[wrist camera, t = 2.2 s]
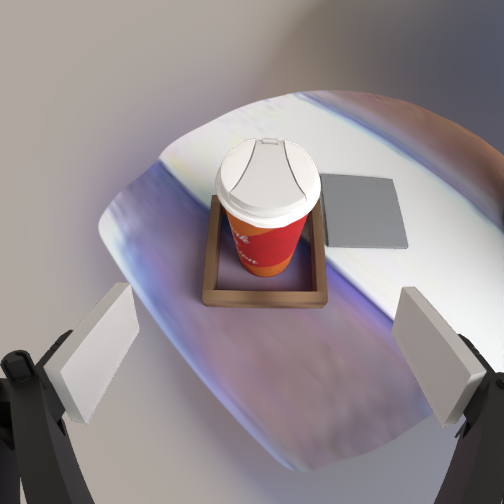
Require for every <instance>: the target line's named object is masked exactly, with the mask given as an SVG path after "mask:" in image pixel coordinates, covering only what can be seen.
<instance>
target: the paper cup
mask: <svg viewBox="0 0 504 504" xmlns="http://www.w3.org/2000/svg"><path fill="white" fill-rule="evenodd" d="M215 186H216V193H217V195H218V198H219V200H220V202H221V204H222V205H223V206H224V207H225V209H226V213H227V216H228V220H229V223H230V227H231V230H232V234H233V237H234V241H235V244H236V248H237V251H238V254H239V257H240V260H241V262H242V264H243V266H244V267H245V268H246V270H247V271H249V272H250V273H252V274H253V275H256V276H259V277H272V276H275V275H278V274H279V273H281V272H282V271H283V270H284V269H285V268H286V267H287V265H288V264H289V262H290V260H291V258H292V255H293V253H294V250H295V248H296V245H297V243H298V240H299V237H300V235H301V232H302V229H303V227H304V224H305V221H306V219H307V216H308V213H309V212H310V211H311V210H312V208H313V207H314V206H315V204H316V203H317V200H318V198H319V195H320V191H321V182H320V177H319V174H318V172H317V170H316V166H315V164H314V162H313V160H312V158H311V157H310V155H309V154H308V153H307V152H306V151H305V150H304V149H303V148H301V147H300V146H298V145H297V144H295V143H293V142H291V141H288V140H285V139H284V143H283V141H277V139H268V138H263V140H257V141H256V138H253V139H250V140H247V141H244V142H242V143H240V144H238V145H237V146H235V147H234V148H233V149H232V150H231V151H230V152H229V153H228V154H227V155H226V157H225V158H224V160H223V162H222V164H221V166H220V168H219V170H218V172H217V176H216V183H215Z"/></svg>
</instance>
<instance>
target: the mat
mask: <svg viewBox="0 0 504 504" xmlns="http://www.w3.org/2000/svg"><path fill="white" fill-rule="evenodd" d="M320 178H321V186H322V194H323V203H324V212H325V222H326V232H327V242H328V247H350V248H394V249H407V248H408V242H407V237H406V233H405V228H404V223H403V219H402V215H401V211H400V207H399V203H398V199H397V195H396V191H395V187H394V184H393V180H392V179H384V178H373V177H361V176H348V175H332V174H321V176H320Z"/></svg>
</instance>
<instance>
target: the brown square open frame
mask: <svg viewBox="0 0 504 504" xmlns="http://www.w3.org/2000/svg"><path fill="white" fill-rule="evenodd" d="M223 214H227V213H226V209H225V207H224V206H223V205H222V204H221V202H220V200H219V198H218V195H212V201H211V210H210V219H209V228H208V237H207V247H206V257H205V267H204V278H203V290H202V301H203V303H204V304H205V306H210V307H239V308H323V307H324V306H325V305H326V303H327V302H328V295H327V278H326V263H325V250H324V238H323V227H322V216H321V206H320V197H319V198H318V200H317V203H316V204H315V206H314V207H313V208H312V210H311V211H310V212H309V213H308V218H309V232H310V248H311V266H312V288H313V292H280V291H229V290H217V278H218V264H219V251H220V239H221V227H222V216H223Z"/></svg>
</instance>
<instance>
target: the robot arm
mask: <svg viewBox="0 0 504 504" xmlns="http://www.w3.org/2000/svg"><path fill="white" fill-rule="evenodd" d="M139 331H140V330H139V325H138V320H137V315H136V310H135V305H134V300H133V294H132V288H131V283H120V282H117V283H116V284H115V285H114V286H113V287H112V288H111V289H110V290H109V291H108V293H107V294H106V295H105V296H104V297H103V298H102V299H101V300H100V301H99V302H98V303H97V305H96V306H95V307H94V308H93V309H92V310H91V311H90V312H89V314H88V315H87V316H86V317H85V318H84V319H83V320H82V322H81V323H80V324H79V325H78V326H77V327H76V328H75V330H69V331H68V332H66V333H64V334H63V335H61V336H60V337H59V339H58V340H57V341H56V342H55V344H53V345H52V346H51V348H50V350H48V351H47V352H46V353H45V355H44V356H43V357H42V358H41V359H40V361H39V362H38V363H37V364H36V365H34V363H33V361H32V359H31V357H30V354H29V353H28V352H26V351H24V350H17V351H13V352H10V353H9V354H7V355H6V356H5V357H4V358H3V359H2V361H1V364H0V366H1V368H2V370H3V372H4V373H5V375H6V377H7V378H6V379H5V378H0V504H20V477H21V481H22V486H23V490H24V494H25V498H26V502H27V504H95V503H94V501H93V499H92V497H91V495H90V492H89V490H88V488H87V485H86V483H85V480H84V478H83V475H82V473H81V470H80V468H79V465H78V463H77V459H76V457H75V454H74V451H73V448H72V445H71V442H70V439H69V436H68V433H67V429H66V426H65V422H64V420H63V419H62V415H63V413H64V412H65V411H66V412H67V414H68V416H69V418H70V419H71V420H72V421H75V422H78V423H82V424H85V425H87V424H88V422H89V420H90V418H91V416H92V414H93V413H94V411H95V409H96V407H97V405H98V403H99V401H100V399H101V398H102V396H103V394H104V392H105V390H106V389H107V387H108V385H109V383H110V381H111V379H112V378H113V376H114V374H115V372H116V371H117V369H118V367H119V365H120V363H121V362H122V360H123V358H124V356H125V355H126V353H127V351H128V350H129V348H130V346H131V344H132V342H133V341H134V339H135V338H136V336H137V334H138V332H139ZM391 335H392V337H393V339H394V340H395V342H396V344H397V345H398V347H399V349H400V351H401V352H402V354H403V356H404V358H405V360H406V361H407V363H408V365H409V367H410V368H411V370H412V372H413V374H414V376H415V378H416V379H417V381H418V383H419V385H420V387H421V389H422V391H423V393H424V395H425V396H426V398H427V400H428V402H429V404H430V406H431V408H432V410H433V412H434V414H435V416H436V418H437V420H438V422H439V424H440V426H441V428H442V427H446V426H450V425H453V424H456V423H457V422H458V420H459V418H460V417H461V415H462V414H464V416H465V417H466V420H465V422H464V424H463V425H462V427H461V428H460V429H459V431H458V432H457V434H456V436H455V438H457V437H458V435H459V434H460V436H459V439H458V443H457V446H456V449H455V452H454V455H453V458H452V460H451V463H450V466H449V468H448V471H447V474H446V476H445V479H444V481H443V484H442V486H441V489H440V491H439V493H438V495H437V497H436V500H435V502H434V504H501V502H502V498H503V502H502V504H504V373H502V372H498V373H495V371H494V370H493V369H492V368H491V366H490V365H489V364H488V362H487V361H486V360H485V359H484V357H483V356H482V355H481V354H479V351H478V350H477V349H476V348H475V347H474V345H473V344H472V343H471V342H470V341H469V340H468V339H467V338H465V337H464V336H463V335H461V334H457V333H456V332H455V331H454V330H453V329H452V327H451V326H450V325H449V324H448V323H447V322H446V320H445V319H444V318H443V317H442V316H441V315H440V314H439V312H438V311H437V310H436V309H435V308H434V307H433V306H432V305H431V303H430V302H429V301H428V300H427V299H426V298H425V297H424V296H423V295H422V294H421V292H420V291H419V290H418V289H417V288H416V287H402V290H401V295H400V299H399V304H398V308H397V312H396V316H395V320H394V324H393V327H392V331H391Z"/></svg>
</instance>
